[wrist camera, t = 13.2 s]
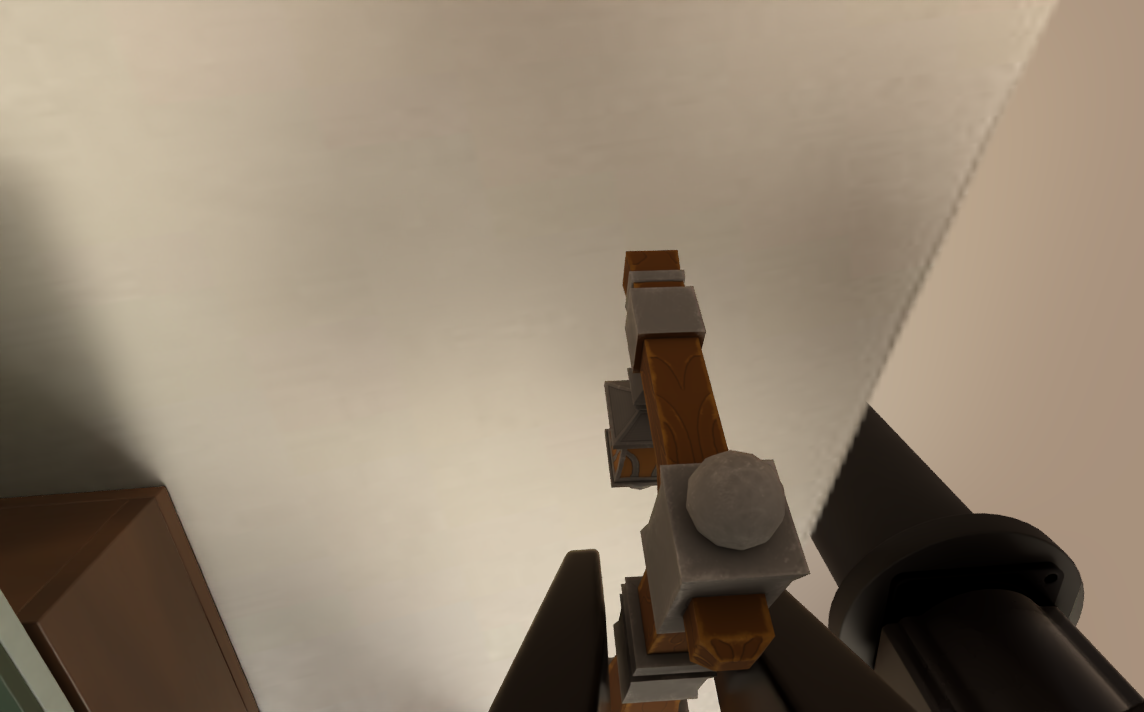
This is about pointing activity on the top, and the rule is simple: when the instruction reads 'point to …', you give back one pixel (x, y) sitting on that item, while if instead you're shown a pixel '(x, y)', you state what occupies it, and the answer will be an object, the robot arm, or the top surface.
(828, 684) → the robot arm
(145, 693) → the wooden box
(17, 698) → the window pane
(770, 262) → the top surface
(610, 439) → the wooden post with brackets
